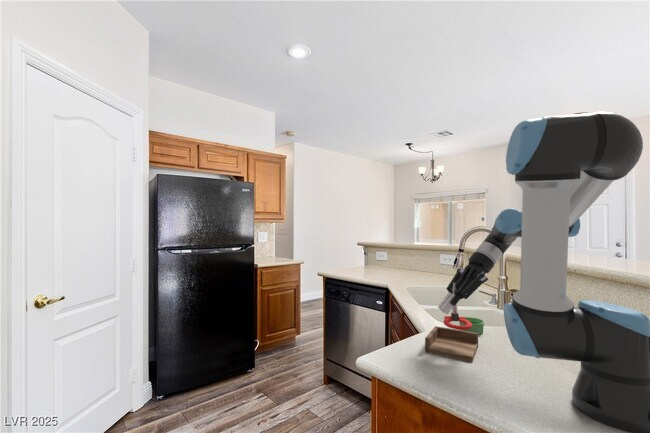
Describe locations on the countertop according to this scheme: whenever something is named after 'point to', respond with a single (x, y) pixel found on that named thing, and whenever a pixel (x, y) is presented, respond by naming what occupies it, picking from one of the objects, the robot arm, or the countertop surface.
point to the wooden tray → (452, 343)
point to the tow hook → (456, 317)
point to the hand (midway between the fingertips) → (442, 310)
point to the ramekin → (474, 325)
